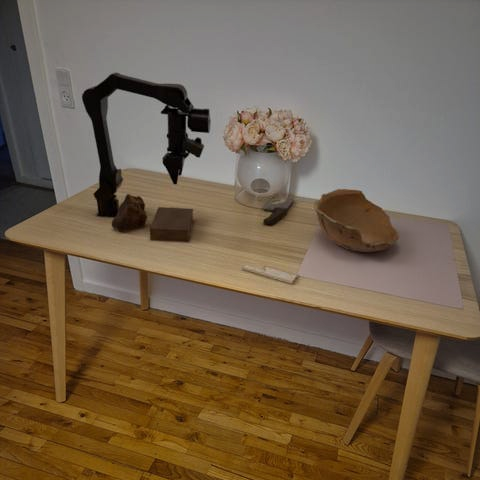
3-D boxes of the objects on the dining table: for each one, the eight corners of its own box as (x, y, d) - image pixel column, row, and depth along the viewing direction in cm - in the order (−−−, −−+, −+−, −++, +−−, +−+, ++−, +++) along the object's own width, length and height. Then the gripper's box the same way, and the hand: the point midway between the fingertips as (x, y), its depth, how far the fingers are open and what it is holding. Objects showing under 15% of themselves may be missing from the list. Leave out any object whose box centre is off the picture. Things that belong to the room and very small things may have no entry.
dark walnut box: (150, 240, 138) (149, 228, 136) (158, 217, 153) (158, 207, 151) (188, 241, 139) (188, 230, 137) (192, 219, 154) (192, 208, 151)
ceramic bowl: (412, 257, 134) (417, 211, 126) (325, 270, 135) (324, 224, 126) (380, 221, 159) (382, 180, 151) (306, 232, 160) (304, 192, 151)
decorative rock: (142, 220, 150) (139, 190, 144) (151, 226, 147) (149, 195, 140) (110, 228, 144) (106, 196, 138) (118, 234, 140) (114, 202, 134)
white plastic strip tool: (251, 262, 130) (251, 259, 129) (297, 276, 124) (298, 273, 124) (243, 269, 126) (243, 266, 125) (291, 284, 121) (291, 280, 120)
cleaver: (277, 227, 152) (278, 221, 151) (250, 222, 154) (251, 216, 153) (294, 201, 175) (295, 195, 174) (271, 197, 177) (272, 191, 176)
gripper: (198, 139, 129) (198, 191, 138) (205, 126, 144) (204, 173, 153) (161, 136, 129) (163, 188, 138) (172, 123, 144) (173, 170, 153)
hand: (177, 179), depth 145 cm, fingers open, 9 cm apart
